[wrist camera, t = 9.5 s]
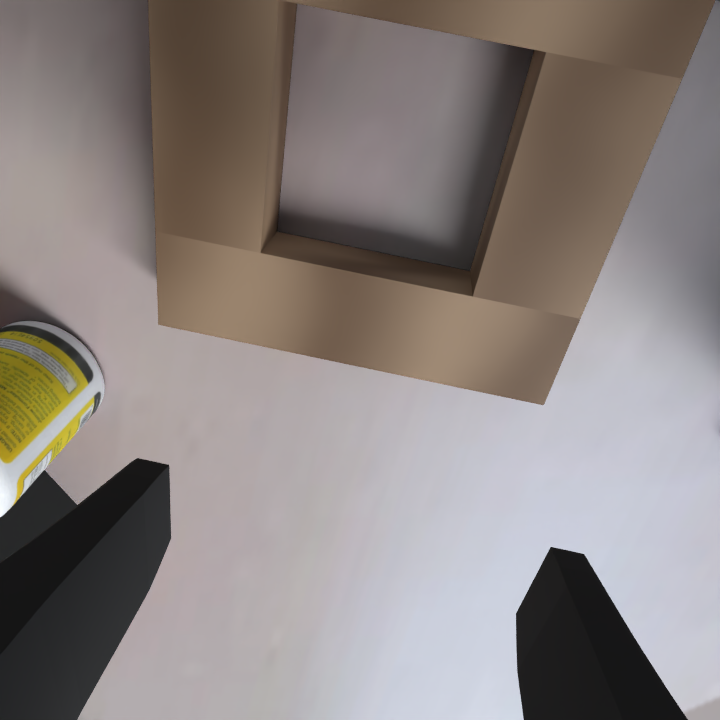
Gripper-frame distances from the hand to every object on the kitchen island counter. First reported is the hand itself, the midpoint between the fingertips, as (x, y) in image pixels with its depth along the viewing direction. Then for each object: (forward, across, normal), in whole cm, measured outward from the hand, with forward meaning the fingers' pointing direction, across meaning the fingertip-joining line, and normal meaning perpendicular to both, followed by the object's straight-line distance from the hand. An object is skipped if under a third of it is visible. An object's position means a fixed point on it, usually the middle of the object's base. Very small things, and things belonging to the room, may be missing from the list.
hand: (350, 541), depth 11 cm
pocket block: (+10, +1, -5) cm, 12 cm away
